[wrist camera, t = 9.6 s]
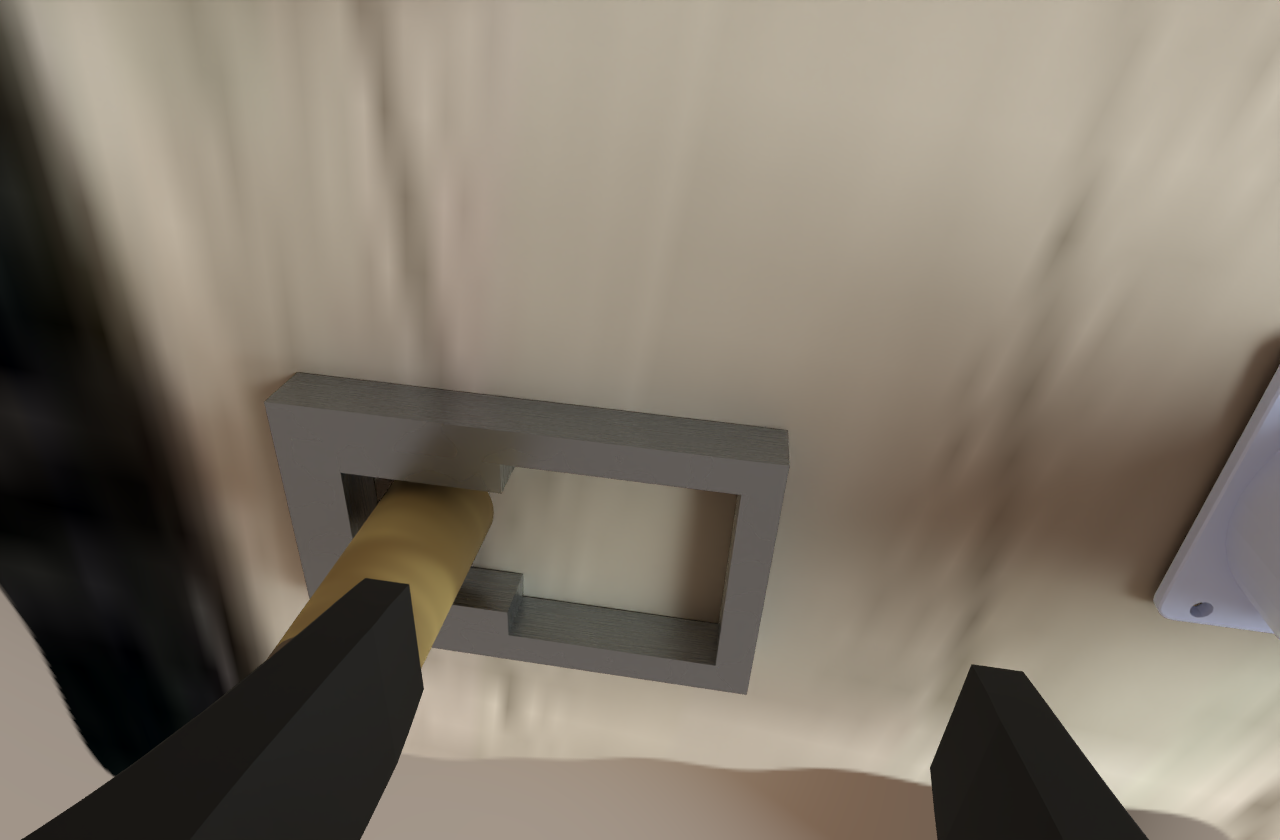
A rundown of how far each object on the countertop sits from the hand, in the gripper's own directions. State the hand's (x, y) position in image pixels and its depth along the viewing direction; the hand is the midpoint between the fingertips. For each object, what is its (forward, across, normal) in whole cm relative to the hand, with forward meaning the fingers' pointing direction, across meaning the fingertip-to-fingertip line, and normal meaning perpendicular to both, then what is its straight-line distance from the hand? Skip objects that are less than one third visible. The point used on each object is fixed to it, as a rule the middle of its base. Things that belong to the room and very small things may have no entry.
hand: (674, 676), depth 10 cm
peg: (+10, +7, +6) cm, 14 cm away
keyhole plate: (+10, +4, +6) cm, 12 cm away
